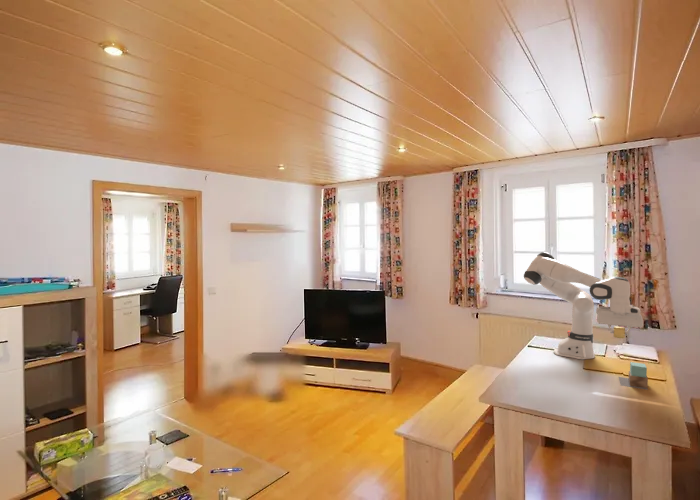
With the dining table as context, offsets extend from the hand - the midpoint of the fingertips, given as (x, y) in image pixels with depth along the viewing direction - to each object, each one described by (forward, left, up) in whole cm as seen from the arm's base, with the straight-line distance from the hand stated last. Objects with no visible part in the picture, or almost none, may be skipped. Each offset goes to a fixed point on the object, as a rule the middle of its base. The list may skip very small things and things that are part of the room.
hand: (619, 333), depth 209 cm
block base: (+7, -10, -22) cm, 26 cm away
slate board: (+5, -9, -23) cm, 25 cm away
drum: (0, 0, -2) cm, 2 cm away
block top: (+7, -10, -17) cm, 21 cm away
